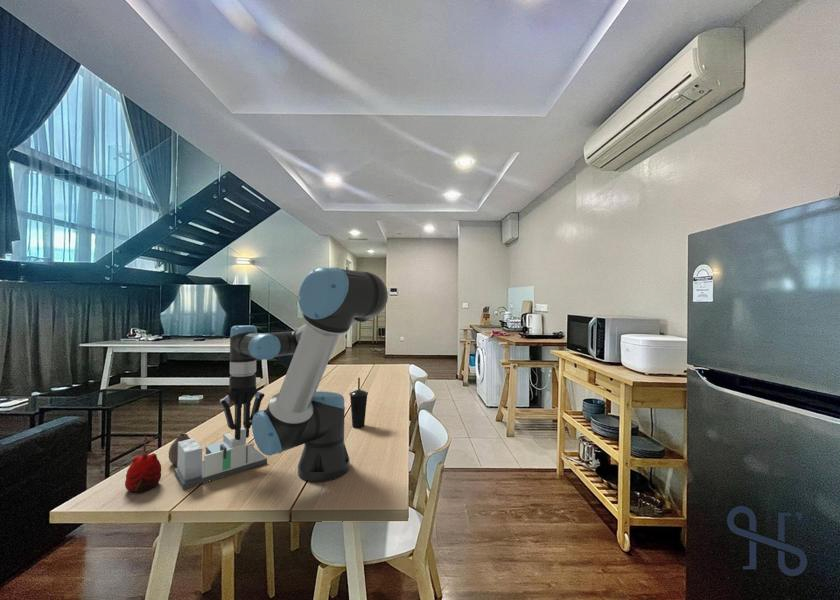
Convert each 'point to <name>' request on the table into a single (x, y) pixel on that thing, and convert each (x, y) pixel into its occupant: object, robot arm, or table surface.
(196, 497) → the table surface
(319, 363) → the robot arm
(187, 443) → the white vise jaw block
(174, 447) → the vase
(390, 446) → the table surface
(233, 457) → the base
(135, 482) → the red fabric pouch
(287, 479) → the table surface
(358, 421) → the drinking cup
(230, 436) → the gauge plunger
